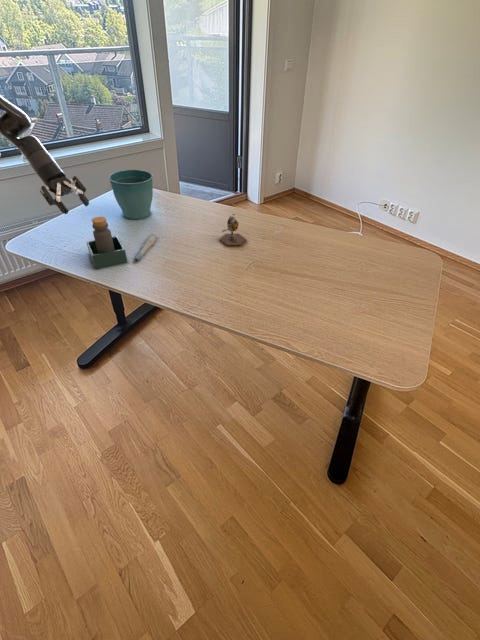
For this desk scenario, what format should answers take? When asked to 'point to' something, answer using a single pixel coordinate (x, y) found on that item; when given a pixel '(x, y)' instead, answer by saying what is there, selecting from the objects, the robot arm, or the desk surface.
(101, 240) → the bottle
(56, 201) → the robot arm
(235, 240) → the brown figurine on base
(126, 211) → the flower pot
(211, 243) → the desk surface
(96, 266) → the green open box
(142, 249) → the pen
